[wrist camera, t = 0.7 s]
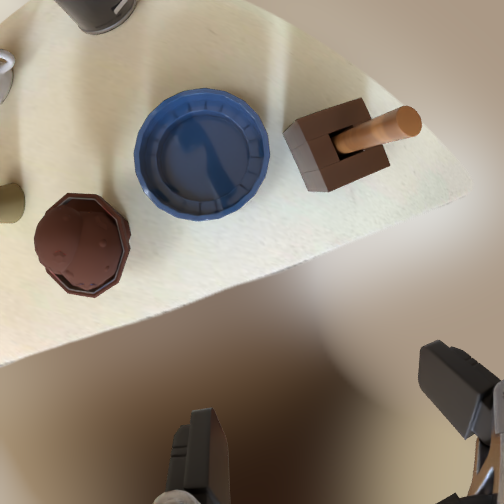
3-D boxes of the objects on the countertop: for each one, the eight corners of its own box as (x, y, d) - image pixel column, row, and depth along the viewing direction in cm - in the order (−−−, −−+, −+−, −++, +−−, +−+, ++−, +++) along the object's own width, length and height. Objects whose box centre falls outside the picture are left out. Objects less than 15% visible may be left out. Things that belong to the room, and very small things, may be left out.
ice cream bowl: (68, 255, 37) (3, 287, 22) (92, 178, 35) (26, 176, 20) (133, 287, 38) (88, 337, 24) (162, 208, 37) (122, 220, 22)
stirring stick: (312, 146, 36) (391, 109, 17) (327, 140, 36) (414, 102, 17) (319, 161, 37) (404, 140, 17) (334, 155, 37) (426, 131, 17)
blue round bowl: (131, 134, 34) (115, 126, 28) (234, 86, 34) (235, 69, 28) (177, 234, 37) (167, 243, 32) (281, 186, 37) (291, 186, 31)
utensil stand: (282, 133, 36) (296, 119, 28) (337, 113, 36) (361, 97, 28) (308, 191, 38) (328, 192, 30) (361, 168, 37) (390, 165, 30)
